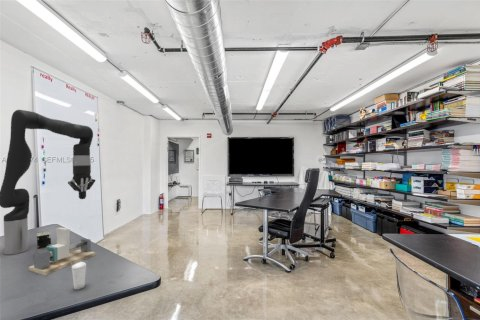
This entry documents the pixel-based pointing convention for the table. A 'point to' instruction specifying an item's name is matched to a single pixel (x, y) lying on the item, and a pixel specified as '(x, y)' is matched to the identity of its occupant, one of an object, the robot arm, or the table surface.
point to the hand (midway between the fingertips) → (82, 198)
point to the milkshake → (79, 274)
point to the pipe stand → (47, 266)
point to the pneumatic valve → (43, 240)
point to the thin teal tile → (54, 252)
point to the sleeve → (62, 242)
